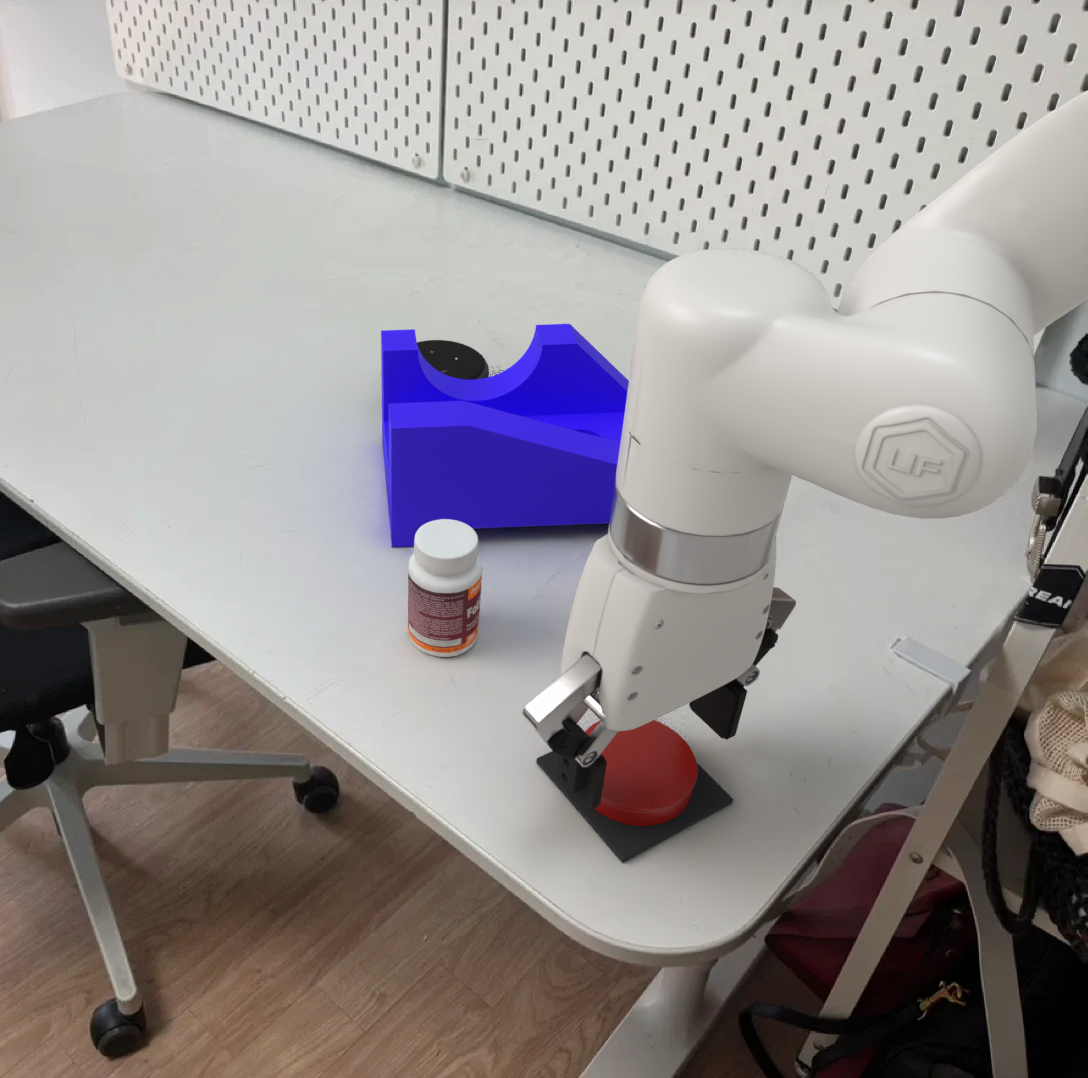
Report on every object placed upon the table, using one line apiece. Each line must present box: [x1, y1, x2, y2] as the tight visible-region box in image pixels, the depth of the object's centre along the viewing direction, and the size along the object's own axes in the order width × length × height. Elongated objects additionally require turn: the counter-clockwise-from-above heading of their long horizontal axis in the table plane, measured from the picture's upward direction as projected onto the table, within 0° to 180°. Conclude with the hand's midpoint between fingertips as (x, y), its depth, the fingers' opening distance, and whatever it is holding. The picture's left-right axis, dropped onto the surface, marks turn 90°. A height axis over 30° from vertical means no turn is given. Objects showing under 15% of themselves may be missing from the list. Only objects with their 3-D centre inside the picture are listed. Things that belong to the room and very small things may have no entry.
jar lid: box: [584, 719, 698, 826], centre depth 63 cm, size 7×7×2 cm
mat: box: [535, 750, 734, 864], centre depth 63 cm, size 8×8×1 cm
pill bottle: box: [407, 519, 484, 658], centre depth 70 cm, size 5×5×8 cm
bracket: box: [380, 323, 629, 548], centre depth 82 cm, size 21×14×10 cm, turn 92°
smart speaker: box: [417, 339, 490, 380], centre depth 94 cm, size 9×9×4 cm
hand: (645, 755), depth 62 cm, fingers open, 9 cm apart
